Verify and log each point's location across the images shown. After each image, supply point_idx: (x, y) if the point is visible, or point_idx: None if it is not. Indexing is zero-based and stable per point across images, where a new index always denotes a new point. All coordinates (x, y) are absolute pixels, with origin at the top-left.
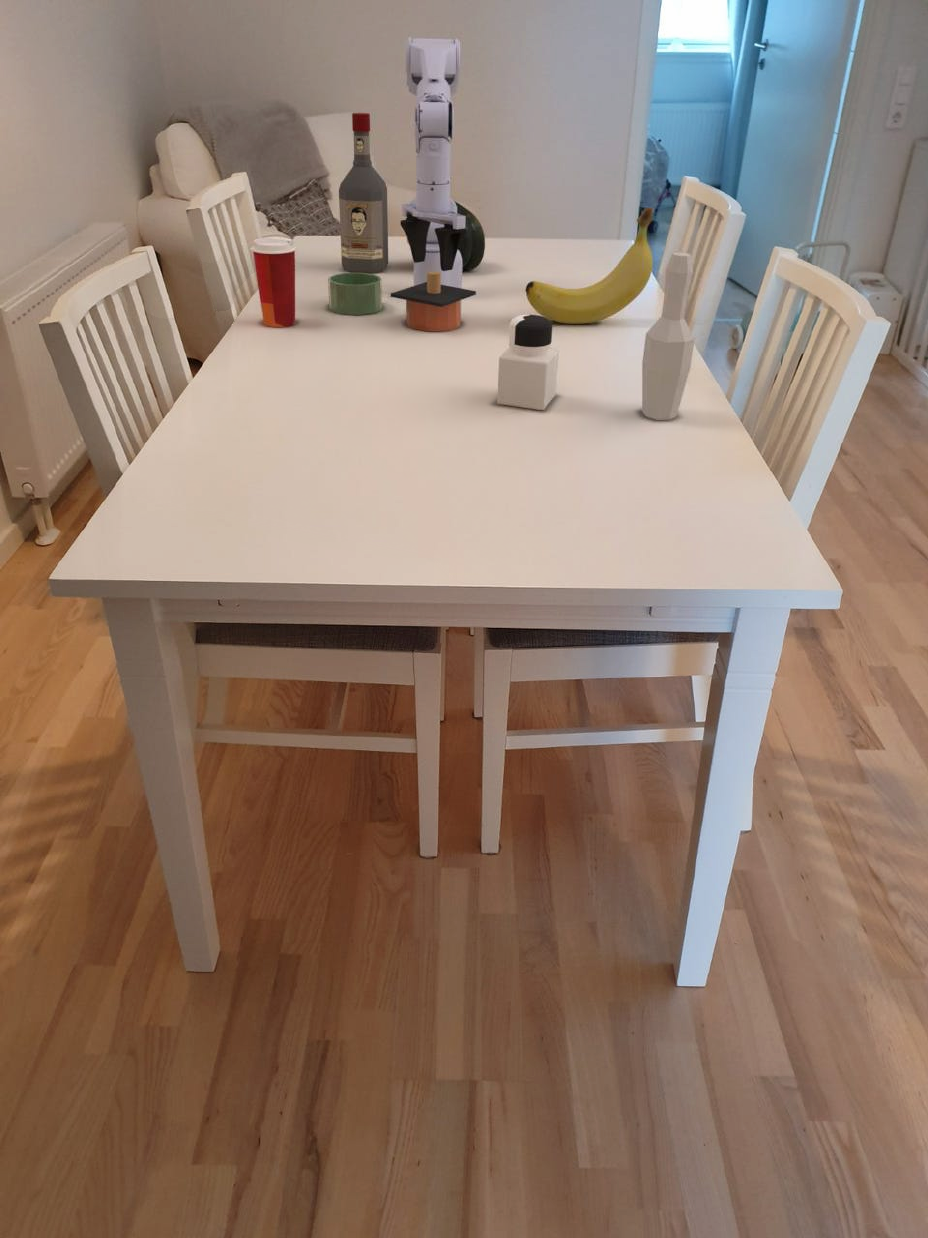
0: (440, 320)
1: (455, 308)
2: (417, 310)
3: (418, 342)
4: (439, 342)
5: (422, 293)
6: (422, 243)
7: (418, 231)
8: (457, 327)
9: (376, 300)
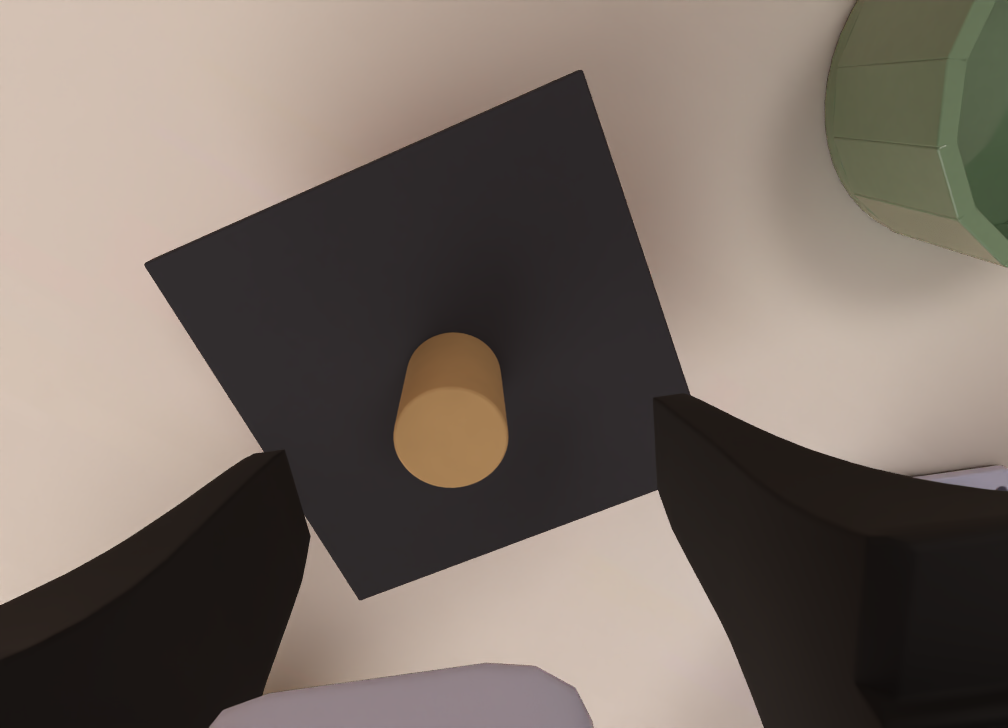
0: None
1: None
2: None
3: (155, 28)
4: (115, 146)
5: (460, 290)
6: (716, 574)
7: (781, 632)
8: None
9: (865, 154)
